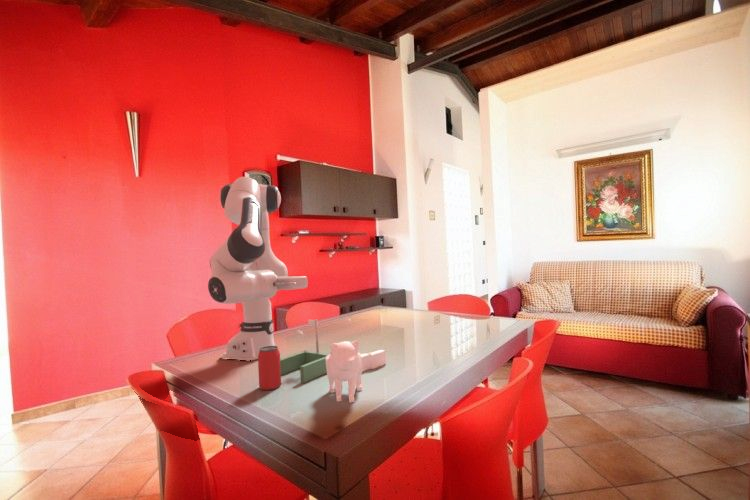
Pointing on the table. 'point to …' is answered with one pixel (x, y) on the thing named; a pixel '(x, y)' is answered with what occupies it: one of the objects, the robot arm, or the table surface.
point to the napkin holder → (373, 359)
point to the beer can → (269, 368)
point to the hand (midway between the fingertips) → (297, 280)
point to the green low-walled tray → (306, 361)
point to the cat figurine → (344, 368)
